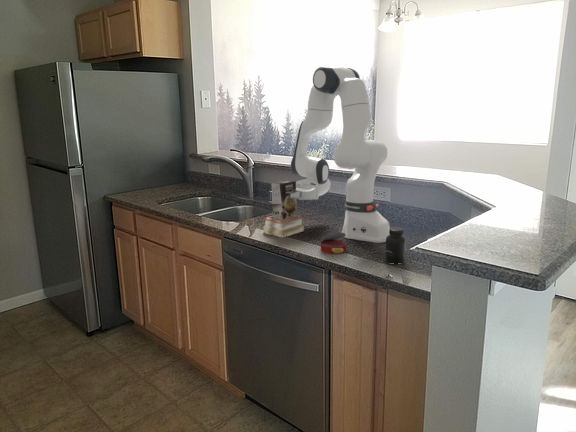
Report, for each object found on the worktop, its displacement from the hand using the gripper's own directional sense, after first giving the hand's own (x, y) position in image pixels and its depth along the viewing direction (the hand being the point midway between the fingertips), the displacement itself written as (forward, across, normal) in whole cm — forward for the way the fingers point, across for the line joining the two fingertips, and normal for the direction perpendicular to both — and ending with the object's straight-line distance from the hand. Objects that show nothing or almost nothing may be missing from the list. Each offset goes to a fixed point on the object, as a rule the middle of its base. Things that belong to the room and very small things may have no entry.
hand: (282, 194), depth 193 cm
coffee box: (-1, +1, +11) cm, 11 cm away
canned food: (+6, +31, +17) cm, 36 cm away
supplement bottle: (+3, +55, +16) cm, 58 cm away
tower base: (0, 0, +16) cm, 17 cm away
